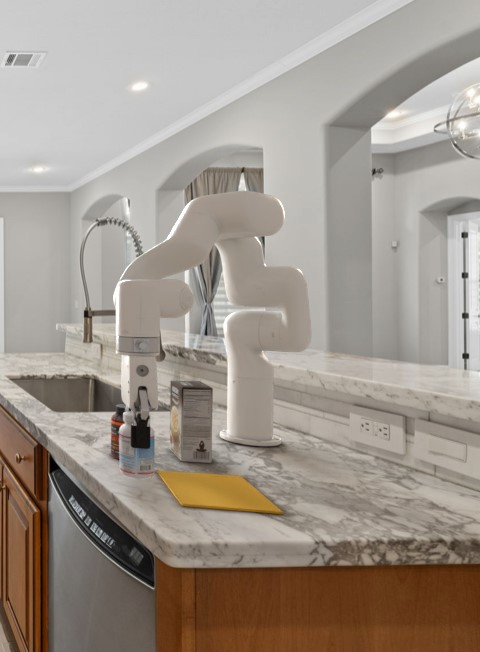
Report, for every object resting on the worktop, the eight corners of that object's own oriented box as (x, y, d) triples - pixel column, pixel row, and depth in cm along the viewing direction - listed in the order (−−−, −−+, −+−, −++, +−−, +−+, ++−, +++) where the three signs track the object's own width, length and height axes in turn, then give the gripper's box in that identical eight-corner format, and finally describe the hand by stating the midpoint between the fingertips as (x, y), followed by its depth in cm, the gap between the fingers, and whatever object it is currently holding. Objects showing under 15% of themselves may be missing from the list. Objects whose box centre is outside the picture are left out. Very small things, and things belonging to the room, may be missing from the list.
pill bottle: (152, 470, 103) (153, 411, 103) (156, 481, 97) (156, 418, 97) (118, 467, 105) (118, 409, 105) (119, 477, 99) (119, 416, 99)
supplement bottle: (104, 455, 120) (104, 404, 120) (124, 452, 122) (125, 402, 122) (125, 463, 114) (125, 409, 114) (146, 459, 117) (146, 407, 117)
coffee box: (168, 449, 124) (169, 379, 124) (198, 451, 123) (199, 380, 123) (180, 461, 115) (181, 386, 115) (213, 463, 114) (214, 387, 114)
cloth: (156, 472, 109) (156, 470, 109) (240, 477, 105) (240, 475, 105) (181, 506, 91) (181, 503, 91) (283, 514, 88) (283, 511, 88)
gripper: (171, 351, 91) (170, 457, 92) (149, 342, 108) (148, 432, 109) (123, 350, 93) (122, 454, 93) (109, 342, 110) (108, 430, 110)
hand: (136, 441), depth 101 cm, fingers closed on pill bottle, 6 cm apart
